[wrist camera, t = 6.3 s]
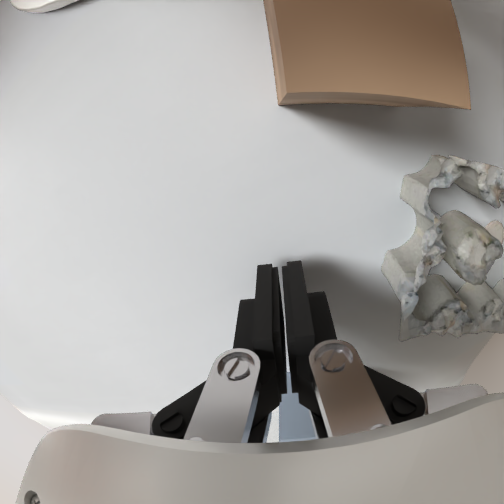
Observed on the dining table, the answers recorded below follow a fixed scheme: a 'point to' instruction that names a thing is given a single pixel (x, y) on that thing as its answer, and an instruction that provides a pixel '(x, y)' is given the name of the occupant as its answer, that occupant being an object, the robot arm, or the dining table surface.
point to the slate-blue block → (294, 418)
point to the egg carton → (448, 254)
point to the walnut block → (367, 52)
